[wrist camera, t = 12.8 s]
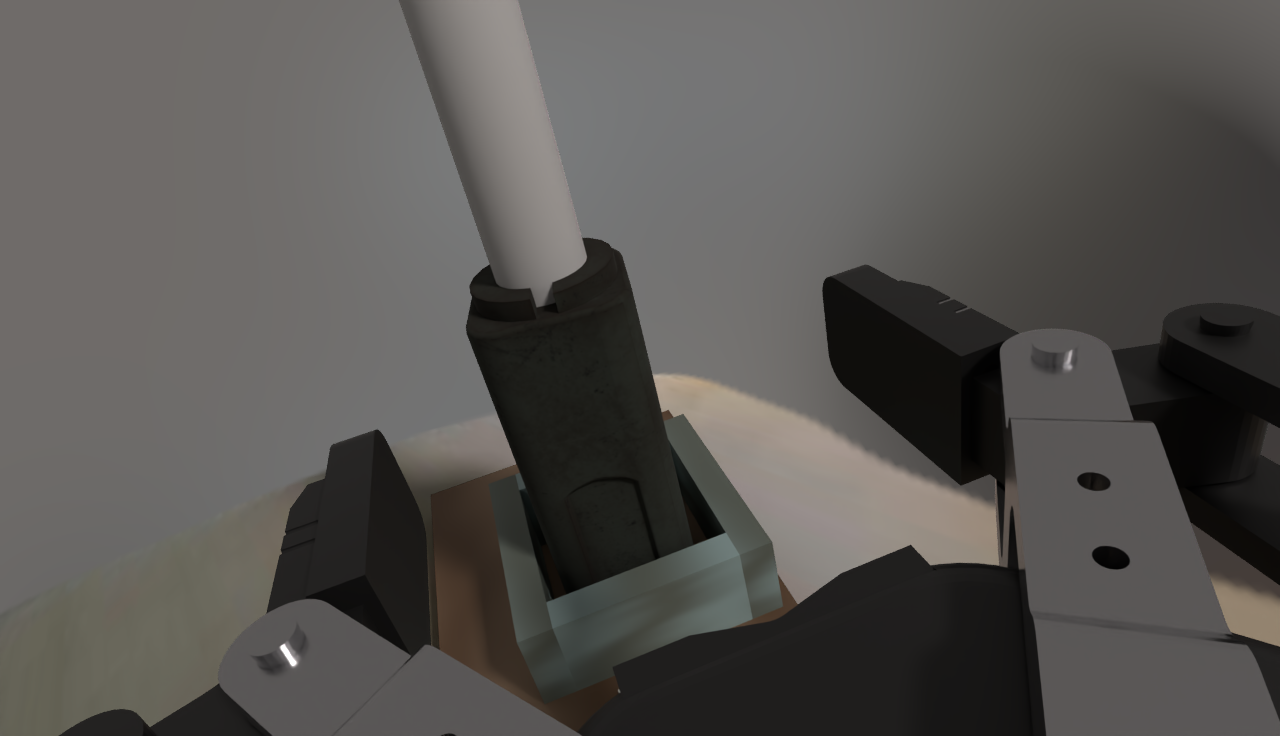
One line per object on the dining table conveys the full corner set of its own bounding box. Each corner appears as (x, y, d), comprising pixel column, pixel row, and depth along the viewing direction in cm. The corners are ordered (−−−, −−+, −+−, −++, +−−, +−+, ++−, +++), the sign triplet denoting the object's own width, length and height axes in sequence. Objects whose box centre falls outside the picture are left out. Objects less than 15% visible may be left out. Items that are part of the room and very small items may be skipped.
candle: (684, 514, 31) (511, -196, 19) (708, 604, 27) (503, -247, 14) (570, 542, 31) (322, -149, 19) (575, 637, 27) (255, -185, 14)
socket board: (464, 870, 22) (410, 788, 20) (438, 512, 37) (407, 444, 35) (849, 701, 24) (838, 610, 21) (672, 428, 39) (656, 359, 37)
